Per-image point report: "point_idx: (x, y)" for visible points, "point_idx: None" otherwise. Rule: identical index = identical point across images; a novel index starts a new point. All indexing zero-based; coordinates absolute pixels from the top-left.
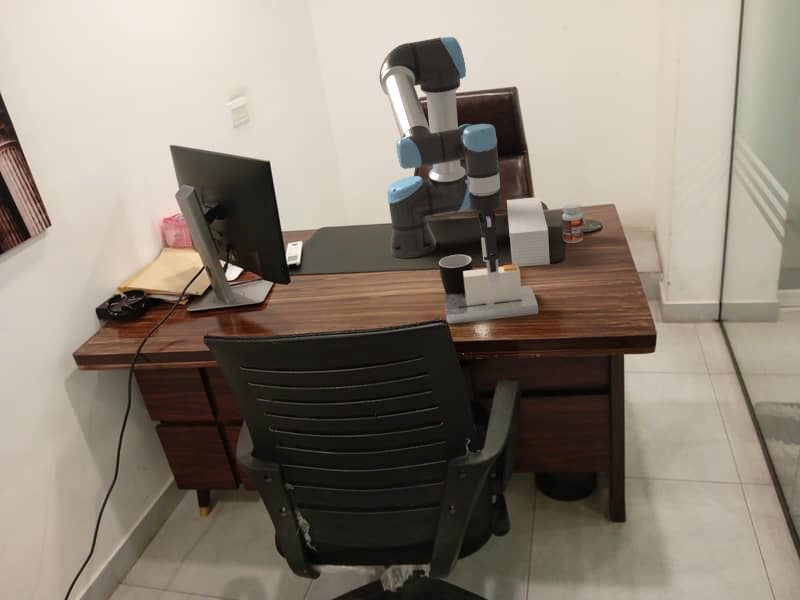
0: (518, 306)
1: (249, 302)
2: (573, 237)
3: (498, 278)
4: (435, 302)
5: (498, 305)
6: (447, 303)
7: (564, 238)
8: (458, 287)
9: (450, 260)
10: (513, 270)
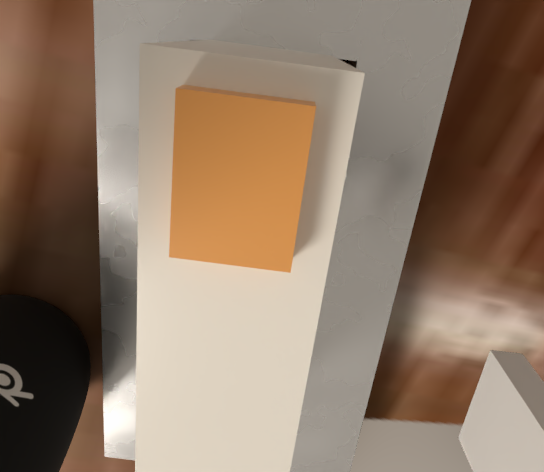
0: (434, 111)
1: None
2: None
3: (541, 392)
4: (94, 450)
5: (354, 232)
6: None
7: None
8: (75, 416)
9: None
10: (315, 151)
